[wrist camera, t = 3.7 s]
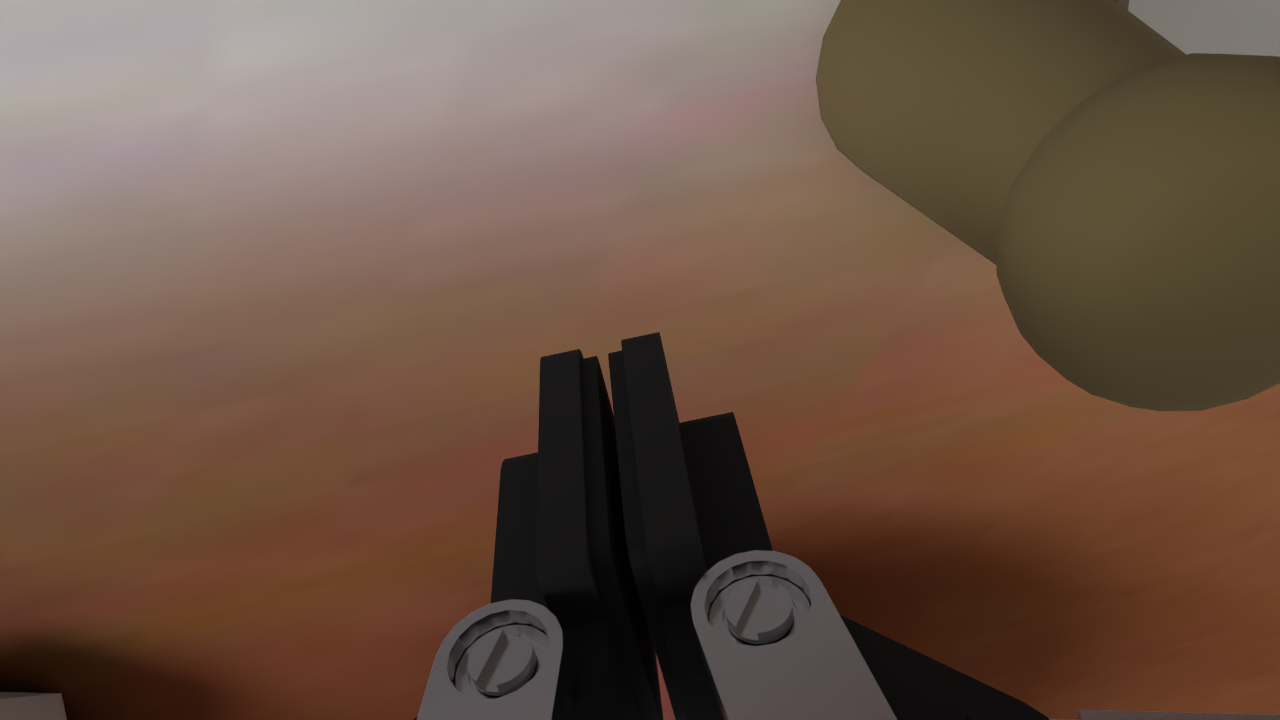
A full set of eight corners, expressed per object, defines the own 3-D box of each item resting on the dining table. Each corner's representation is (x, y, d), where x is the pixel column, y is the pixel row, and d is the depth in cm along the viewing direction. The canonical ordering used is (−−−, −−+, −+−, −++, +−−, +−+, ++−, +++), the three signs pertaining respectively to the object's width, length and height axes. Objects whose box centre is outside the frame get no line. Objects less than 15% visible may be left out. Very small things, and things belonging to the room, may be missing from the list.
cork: (782, 162, 21) (964, 452, 12) (871, -111, 18) (1205, 11, 9) (1001, 203, 23) (1312, 493, 14) (1120, -46, 19) (1629, 118, 10)
